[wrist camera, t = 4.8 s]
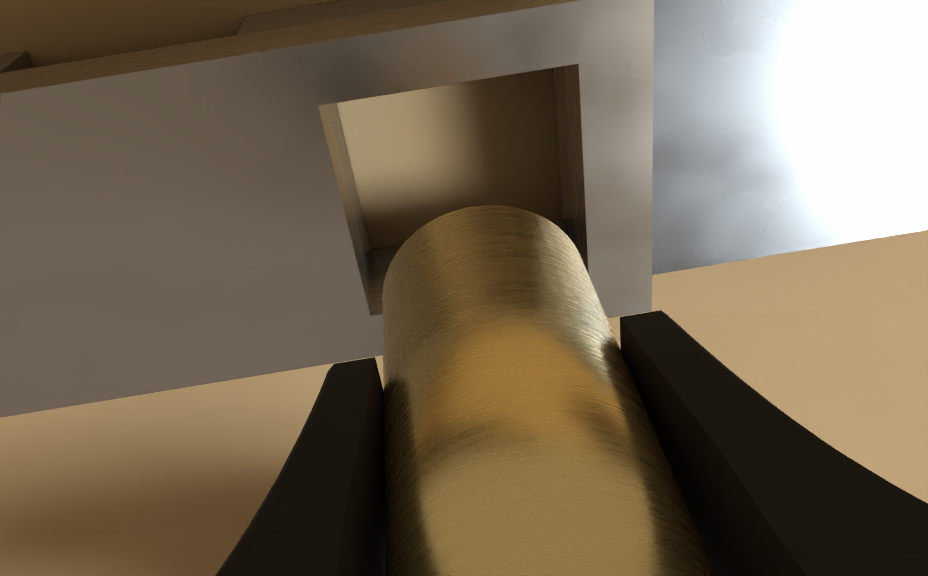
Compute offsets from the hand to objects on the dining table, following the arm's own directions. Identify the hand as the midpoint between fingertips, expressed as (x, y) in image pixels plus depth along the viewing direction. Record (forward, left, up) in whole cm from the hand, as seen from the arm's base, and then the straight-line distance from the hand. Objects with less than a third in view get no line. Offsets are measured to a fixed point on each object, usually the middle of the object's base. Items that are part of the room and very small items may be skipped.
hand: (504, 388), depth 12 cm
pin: (0, 0, -2) cm, 2 cm away
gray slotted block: (0, 0, -9) cm, 9 cm away
